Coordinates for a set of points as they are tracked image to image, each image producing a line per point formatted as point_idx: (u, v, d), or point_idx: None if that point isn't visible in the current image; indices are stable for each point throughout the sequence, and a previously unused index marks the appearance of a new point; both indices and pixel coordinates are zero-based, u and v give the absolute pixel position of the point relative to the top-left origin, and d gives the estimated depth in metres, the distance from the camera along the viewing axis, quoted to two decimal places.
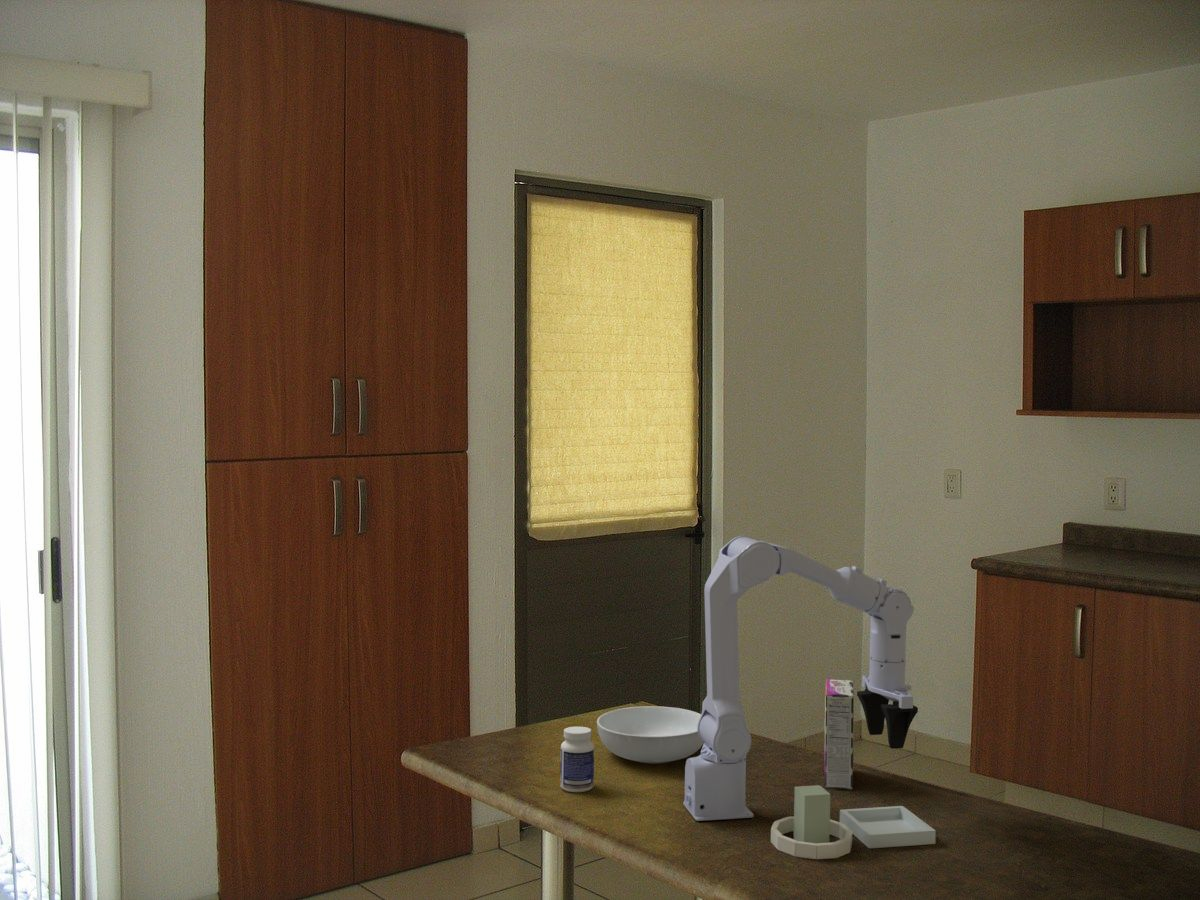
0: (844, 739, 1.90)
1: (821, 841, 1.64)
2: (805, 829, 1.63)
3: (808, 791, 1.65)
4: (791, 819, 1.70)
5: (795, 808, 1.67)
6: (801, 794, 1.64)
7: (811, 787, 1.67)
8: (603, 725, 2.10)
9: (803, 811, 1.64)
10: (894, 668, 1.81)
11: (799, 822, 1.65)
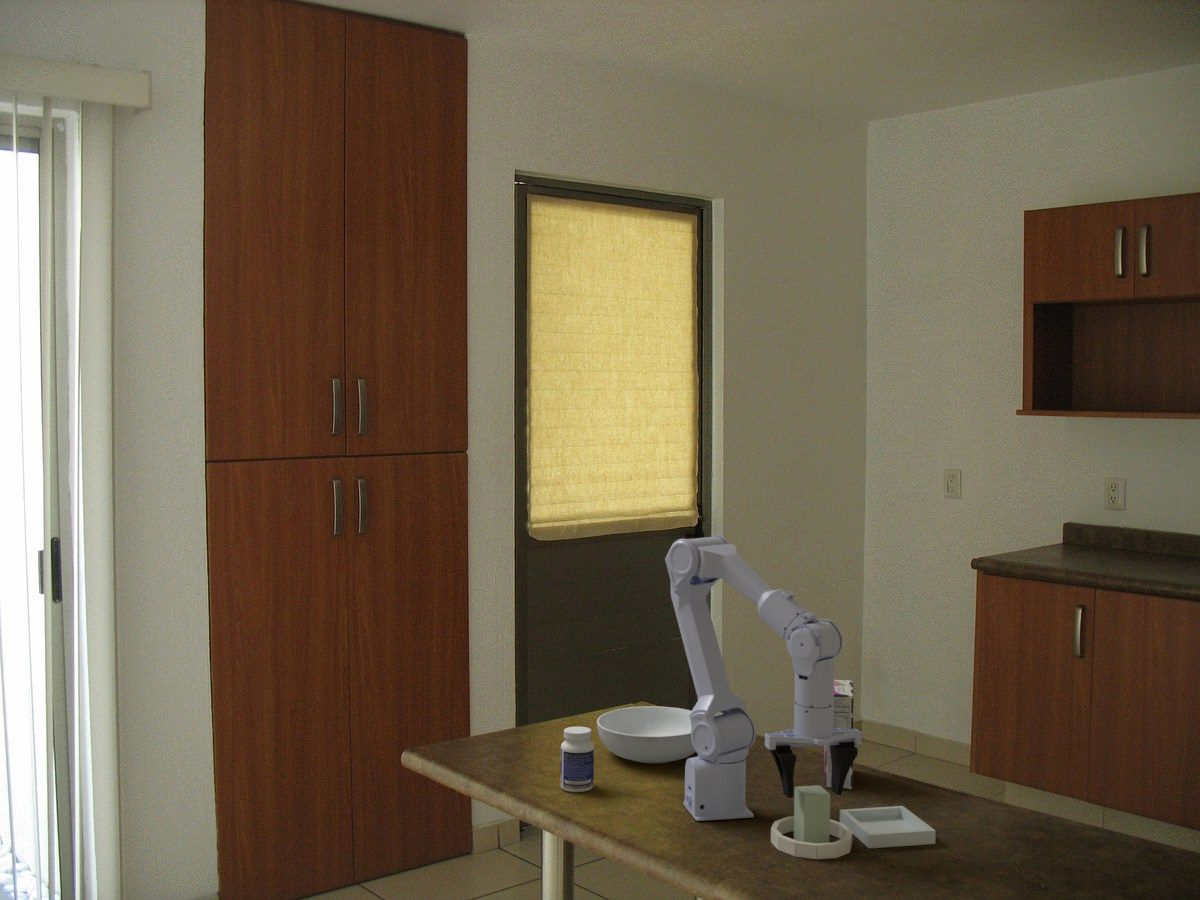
0: None
1: (821, 841, 1.64)
2: (805, 829, 1.63)
3: (808, 791, 1.65)
4: (791, 819, 1.70)
5: (795, 808, 1.67)
6: (801, 794, 1.64)
7: (811, 787, 1.67)
8: (603, 725, 2.10)
9: (803, 811, 1.64)
10: (795, 709, 1.65)
11: (799, 822, 1.65)
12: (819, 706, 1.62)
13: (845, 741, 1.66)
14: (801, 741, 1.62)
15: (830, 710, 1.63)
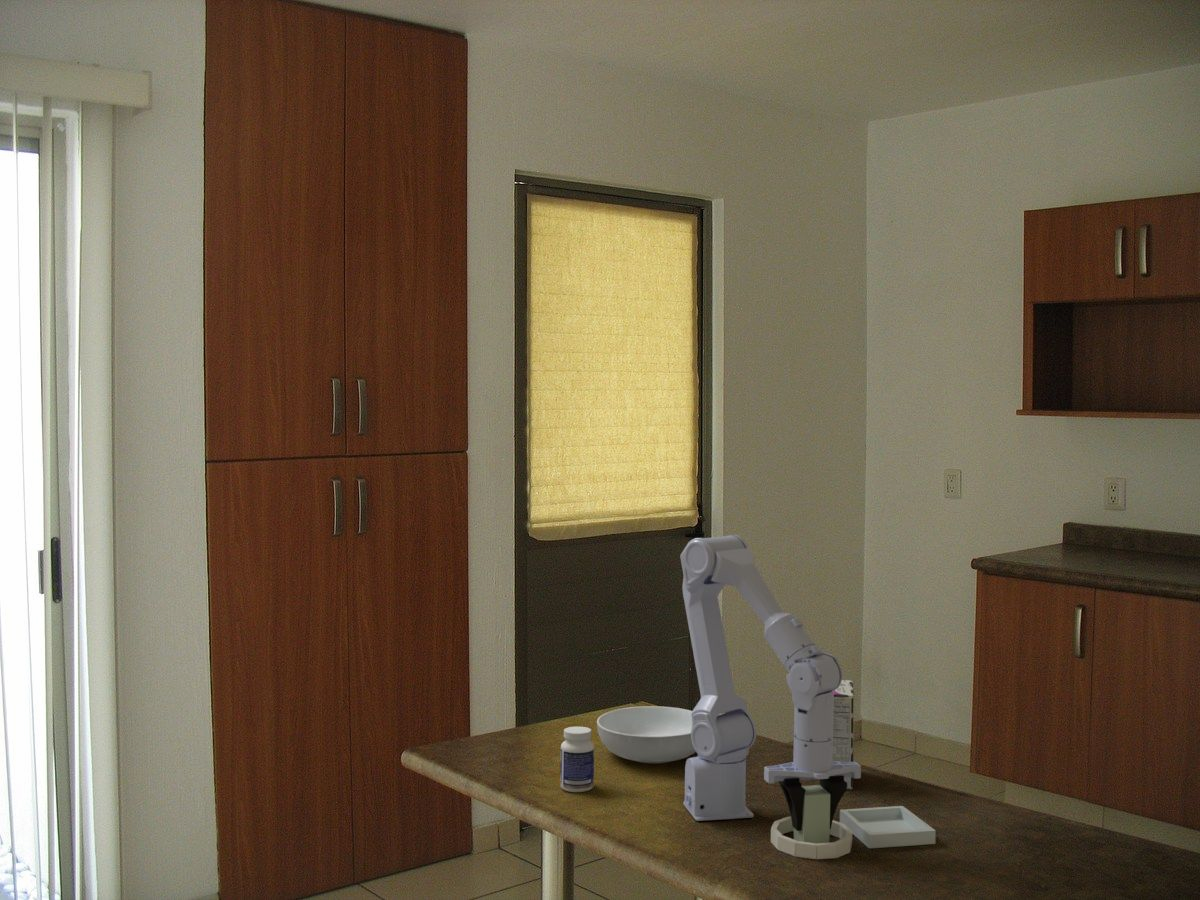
0: (844, 739, 1.90)
1: (821, 841, 1.64)
2: (805, 829, 1.63)
3: (808, 791, 1.65)
4: (791, 819, 1.70)
5: None
6: None
7: (811, 787, 1.67)
8: (603, 725, 2.10)
9: (803, 811, 1.64)
10: (794, 743, 1.65)
11: None
12: (818, 740, 1.62)
13: (844, 774, 1.66)
14: (800, 775, 1.63)
15: (829, 744, 1.63)
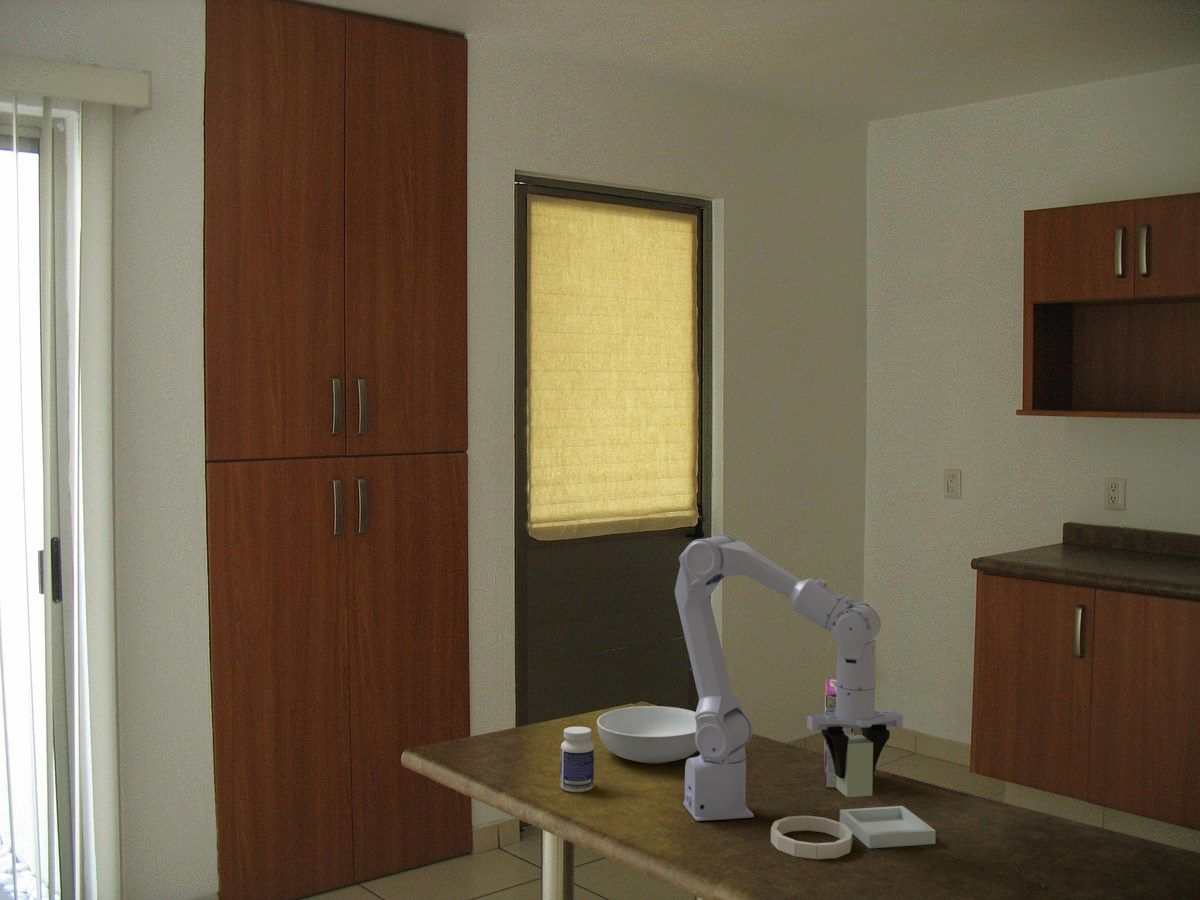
0: None
1: (864, 789, 1.66)
2: (849, 777, 1.65)
3: (851, 740, 1.67)
4: (791, 819, 1.70)
5: None
6: None
7: (853, 736, 1.69)
8: (603, 725, 2.10)
9: (846, 759, 1.66)
10: (837, 692, 1.67)
11: None
12: (867, 688, 1.65)
13: (886, 723, 1.68)
14: (843, 723, 1.65)
15: (872, 692, 1.66)
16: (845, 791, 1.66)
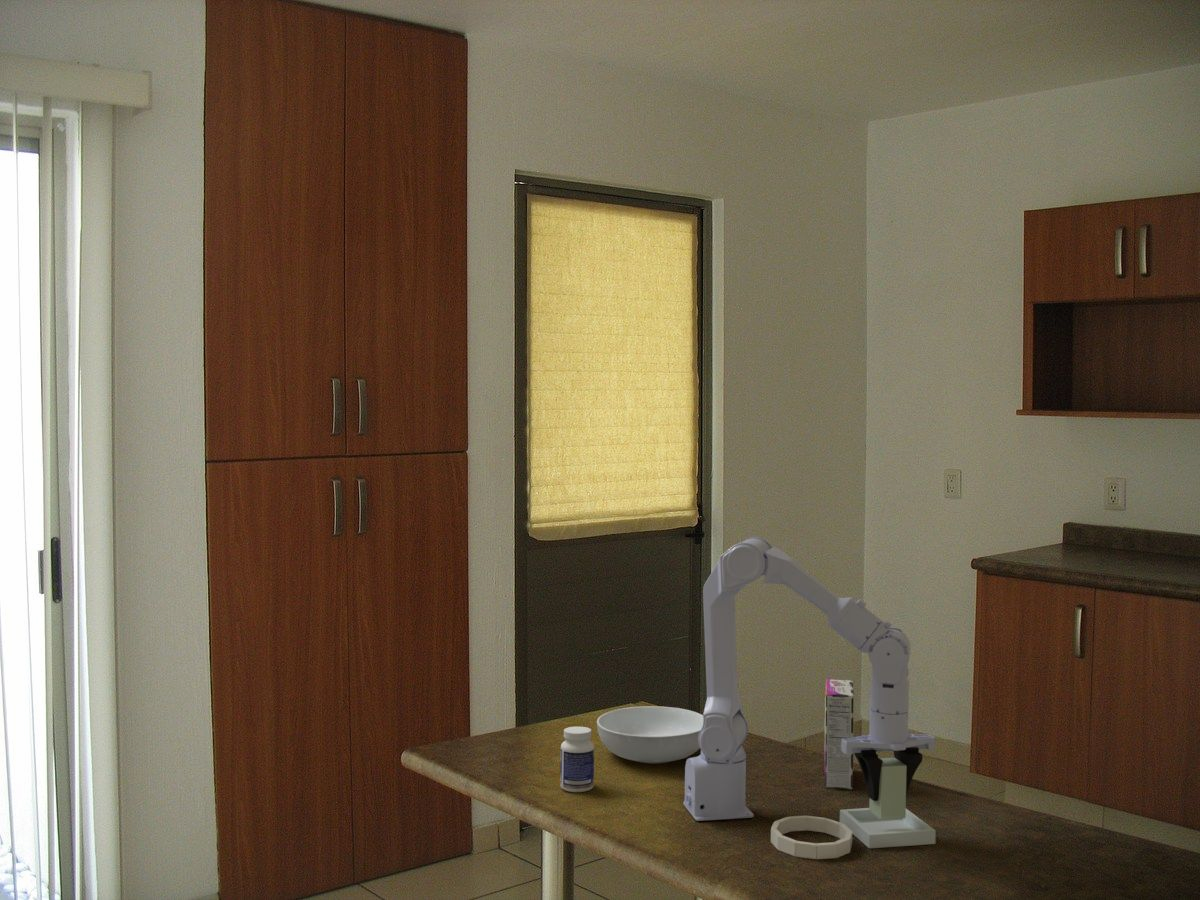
0: None
1: (897, 811, 1.68)
2: (883, 800, 1.68)
3: (885, 763, 1.69)
4: (791, 819, 1.70)
5: None
6: None
7: (886, 759, 1.71)
8: (603, 725, 2.10)
9: (880, 782, 1.68)
10: (871, 716, 1.69)
11: None
12: (903, 712, 1.67)
13: (919, 746, 1.71)
14: (877, 746, 1.67)
15: (905, 716, 1.68)
16: (879, 813, 1.68)
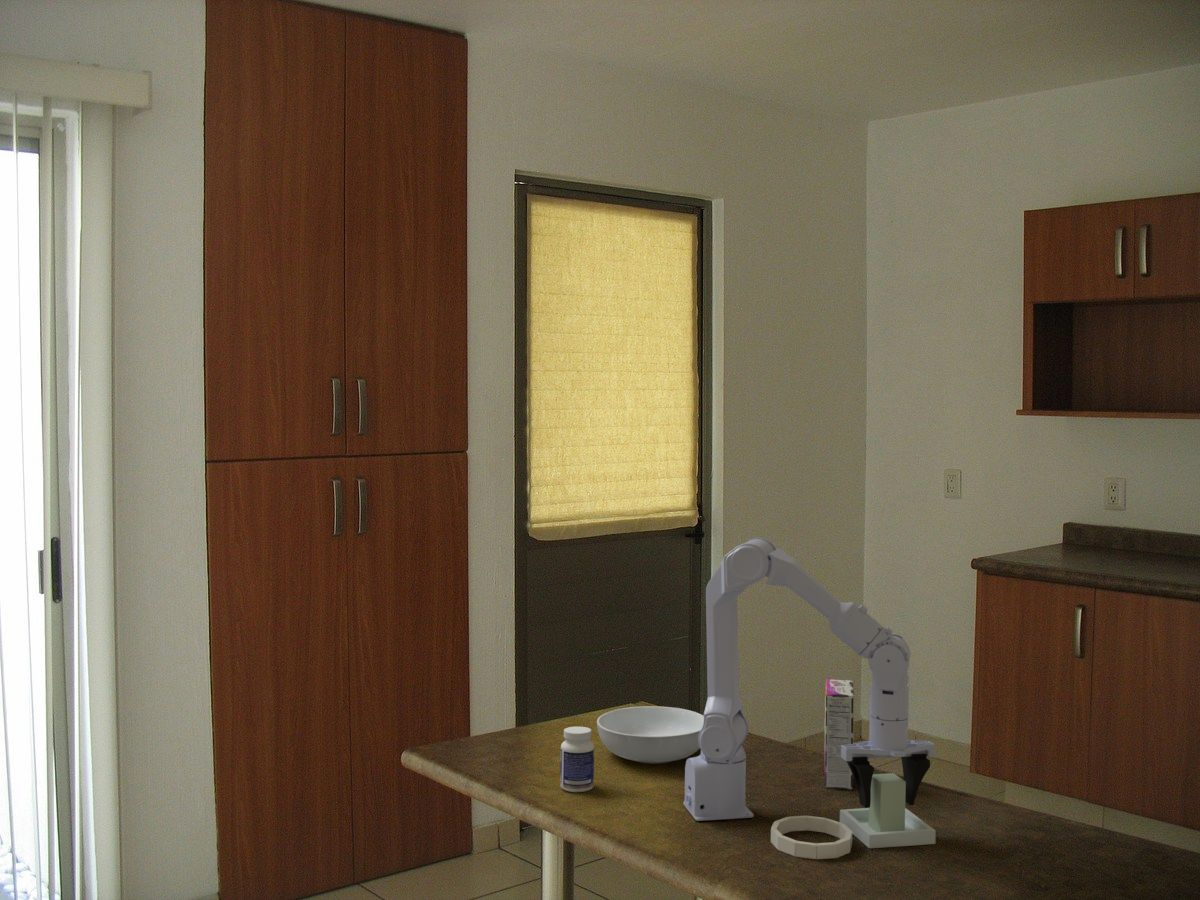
0: (844, 739, 1.90)
1: (897, 827, 1.68)
2: (882, 816, 1.68)
3: (884, 779, 1.69)
4: (791, 819, 1.70)
5: None
6: (877, 782, 1.69)
7: (885, 775, 1.71)
8: (603, 725, 2.10)
9: (879, 798, 1.68)
10: (871, 722, 1.69)
11: (875, 809, 1.70)
12: (903, 718, 1.67)
13: (918, 753, 1.71)
14: (877, 753, 1.67)
15: (905, 723, 1.68)
16: (878, 829, 1.68)
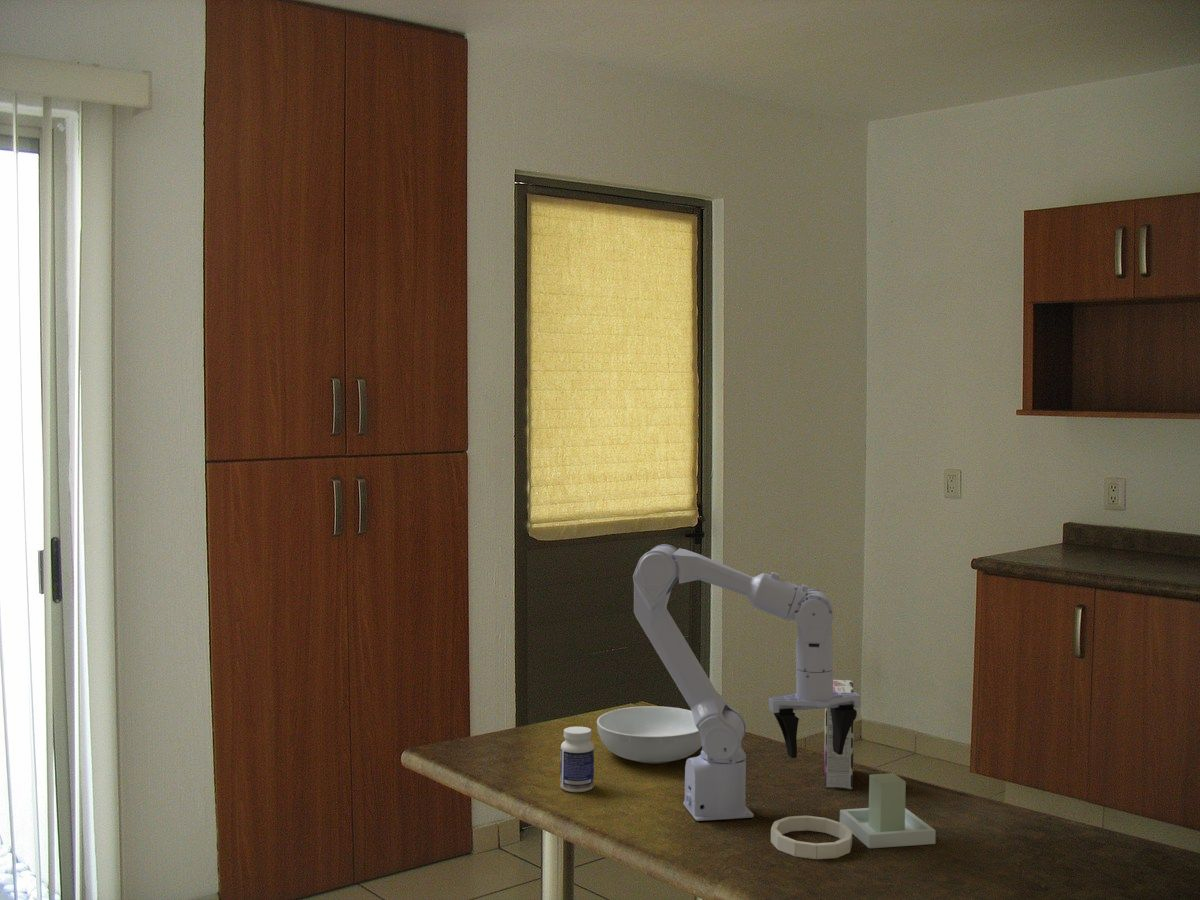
0: None
1: (897, 827, 1.68)
2: (882, 816, 1.68)
3: (884, 779, 1.69)
4: (791, 819, 1.70)
5: (870, 795, 1.71)
6: (877, 782, 1.69)
7: (885, 775, 1.71)
8: (603, 725, 2.10)
9: (879, 798, 1.68)
10: (797, 675, 1.75)
11: (875, 809, 1.70)
12: (828, 669, 1.73)
13: (845, 704, 1.76)
14: (803, 704, 1.72)
15: (830, 674, 1.73)
16: (878, 829, 1.68)
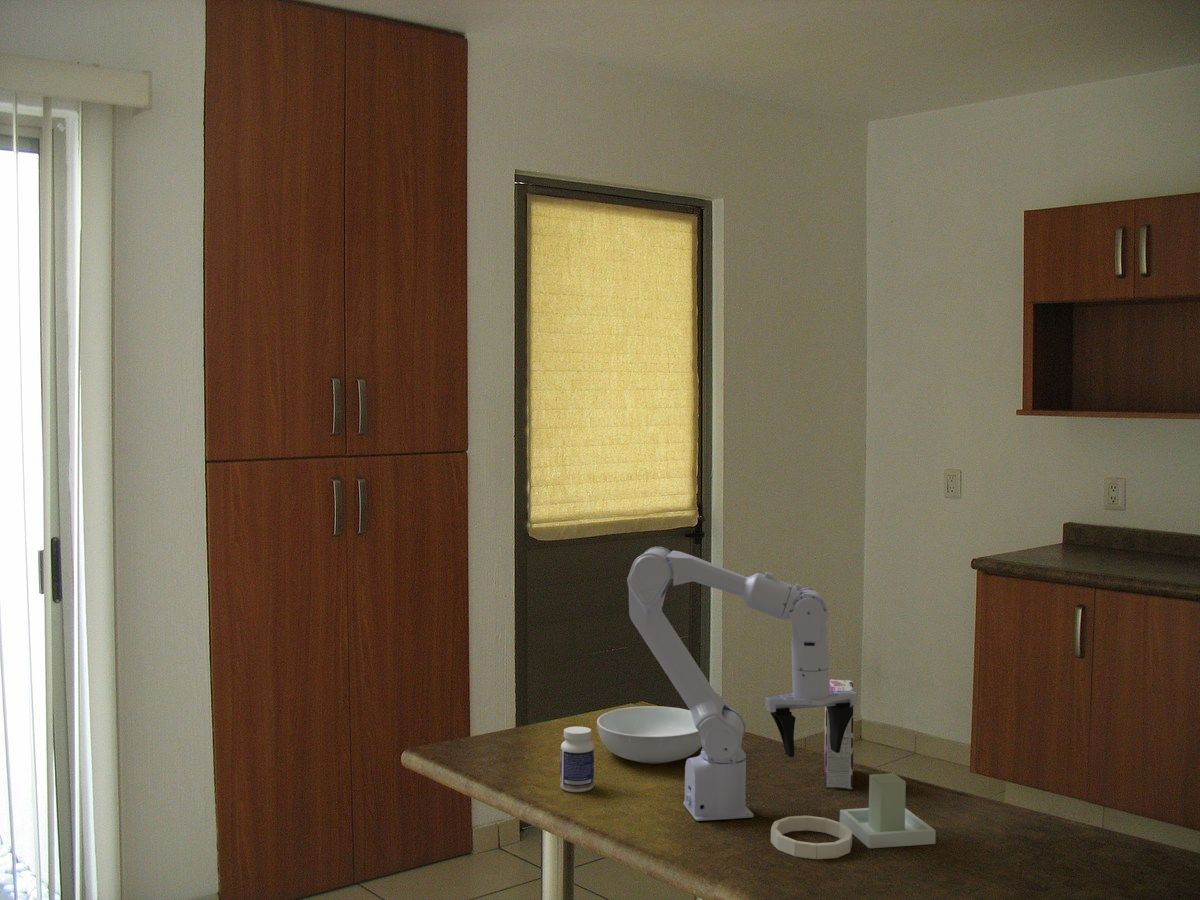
0: (844, 739, 1.90)
1: (897, 827, 1.68)
2: (882, 816, 1.68)
3: (884, 779, 1.69)
4: (791, 819, 1.70)
5: (870, 795, 1.71)
6: (877, 782, 1.69)
7: (885, 775, 1.71)
8: (603, 725, 2.10)
9: (879, 798, 1.68)
10: (793, 674, 1.75)
11: (875, 809, 1.70)
12: (824, 668, 1.73)
13: (841, 702, 1.76)
14: (799, 703, 1.73)
15: (825, 673, 1.73)
16: (878, 829, 1.68)
